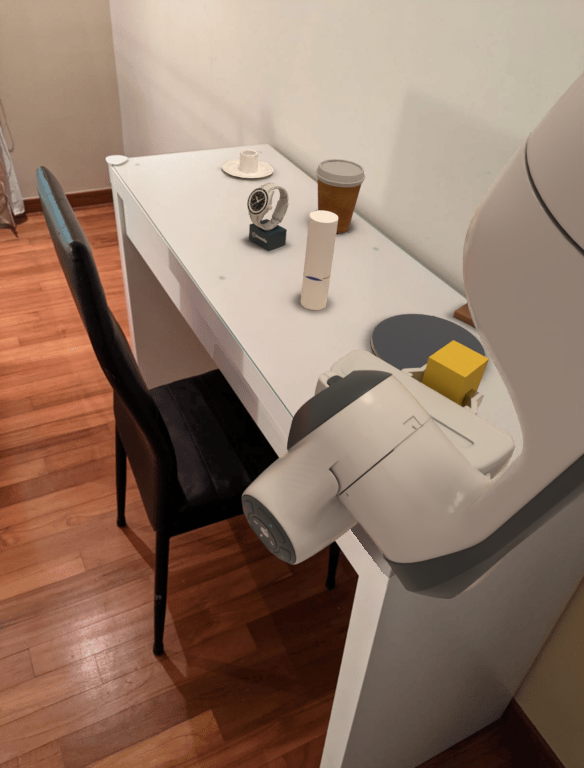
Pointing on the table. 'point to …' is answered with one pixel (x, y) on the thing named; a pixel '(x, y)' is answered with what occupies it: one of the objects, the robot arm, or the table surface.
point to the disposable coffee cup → (339, 189)
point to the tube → (318, 259)
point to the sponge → (454, 371)
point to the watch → (267, 230)
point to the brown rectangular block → (464, 315)
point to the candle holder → (247, 166)
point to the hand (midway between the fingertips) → (453, 383)
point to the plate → (417, 339)
